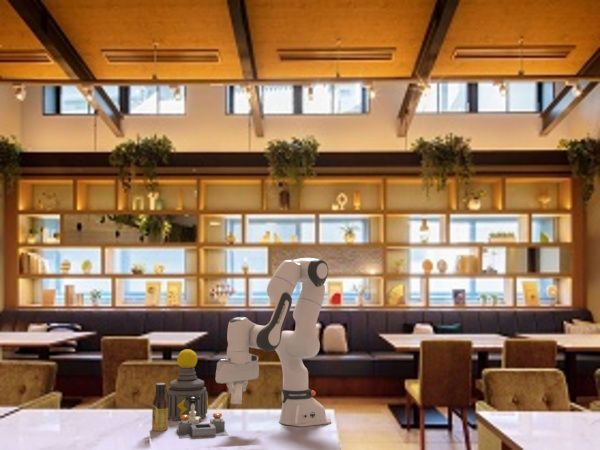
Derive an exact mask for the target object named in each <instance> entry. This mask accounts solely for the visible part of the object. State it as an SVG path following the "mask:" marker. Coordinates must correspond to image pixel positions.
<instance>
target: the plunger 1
mask: <svg viewBox="0 0 600 450" xmlns="http://www.w3.org/2000/svg"><path fill="white" fill-rule="evenodd" d="M189 418H190V415H181V416H180V419H182V423H188V419H189Z"/></svg>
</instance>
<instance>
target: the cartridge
mask: <svg viewBox="0 0 600 450" xmlns="http://www.w3.org/2000/svg"><path fill="white" fill-rule="evenodd" d="M231 386H232V388H233V389H234V393H232V394H230V404H232V405H242V401H243V400H242V399H243V392H242V390H243V382H242V381H236V382H232V385H231Z"/></svg>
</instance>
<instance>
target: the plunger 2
mask: <svg viewBox="0 0 600 450" xmlns="http://www.w3.org/2000/svg"><path fill="white" fill-rule="evenodd" d="M222 416H223V413H221V412H213V414H212V418H213V419H214V421H221V419H222Z"/></svg>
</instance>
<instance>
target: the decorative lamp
mask: <svg viewBox="0 0 600 450" xmlns="http://www.w3.org/2000/svg"><path fill="white" fill-rule="evenodd" d="M176 358H177V360H176V361H177V364H178V366H179V372H178V374H177V375H178V376H177V378H176V379H173V380H171V381H170V382H169V383H168V384H169V387H168V388H167V390H166V391H165V395H166V397H167V399H168V420H171V419H172V420H171V421H177V420H178V421H182V419H180V416H181V415H189V412H191V405H192V404H191V403H189V401H188V399H187V400H186V399H185V397H189V396H197V397H198V396H200V400H198V401H197V402H196V403H194V406H195V409H194V410H195V412H196V415H195V416H197V417H201V418H202V419H204V418H205V417H206V416H207V414H208V407H209V402H208V401H209V400H208V399H209V398H208V397H209V393H208V391H207V387H206V386H205V381H204V380H202V379H200V378H198V376H197V373H196V371H195V370H196V369H195V367H196V365H197V363H198V355H197V353H196V352H195V351H194V350H192V349H189V348H188V349H186V348H185V349H183V350H181V351H180V352H179V354H178V355H177V357H176ZM178 421H177V422H178Z"/></svg>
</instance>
